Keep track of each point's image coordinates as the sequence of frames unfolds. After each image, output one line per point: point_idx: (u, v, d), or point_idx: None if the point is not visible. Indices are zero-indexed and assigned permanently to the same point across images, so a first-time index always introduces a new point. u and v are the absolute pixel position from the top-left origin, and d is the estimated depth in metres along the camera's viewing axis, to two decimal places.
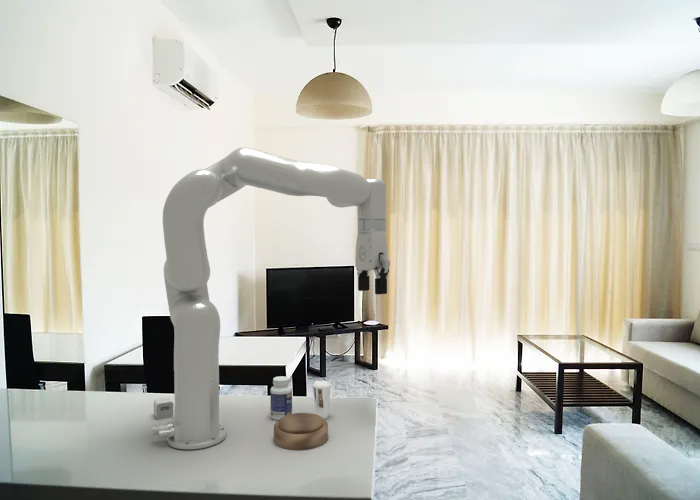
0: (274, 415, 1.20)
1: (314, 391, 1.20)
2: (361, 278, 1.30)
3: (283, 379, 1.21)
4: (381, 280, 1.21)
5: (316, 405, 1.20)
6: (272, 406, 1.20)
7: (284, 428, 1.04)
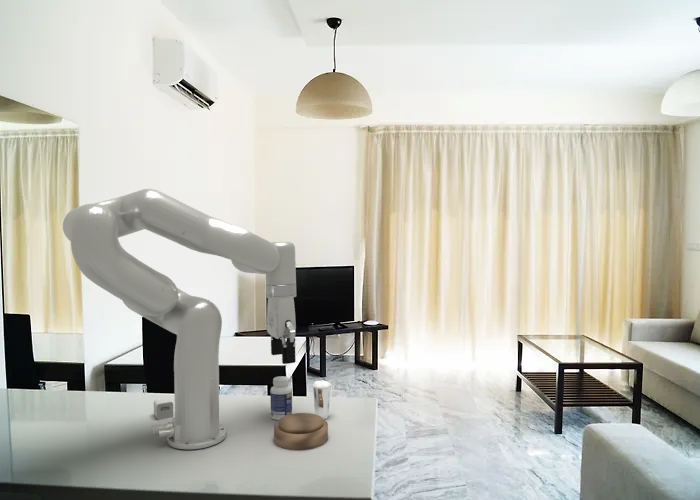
0: (274, 415, 1.20)
1: (314, 391, 1.20)
2: (274, 342, 1.25)
3: (283, 379, 1.21)
4: (288, 349, 1.16)
5: (316, 405, 1.20)
6: (272, 406, 1.20)
7: (284, 428, 1.04)
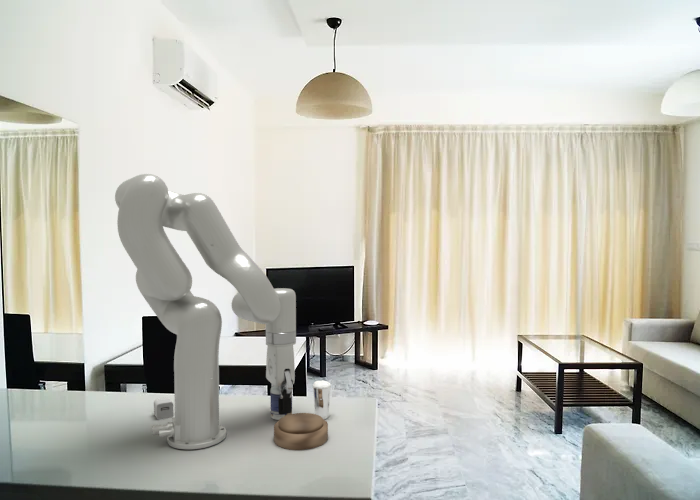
0: (274, 415, 1.20)
1: (314, 391, 1.20)
2: None
3: None
4: (284, 400, 1.18)
5: (316, 405, 1.20)
6: (272, 406, 1.20)
7: (284, 428, 1.04)
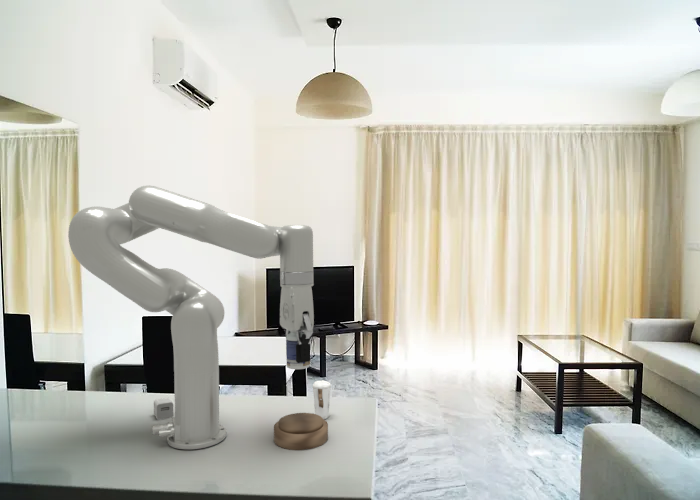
0: (291, 364, 1.08)
1: (314, 391, 1.20)
2: None
3: None
4: (303, 347, 1.06)
5: (316, 405, 1.20)
6: (289, 354, 1.08)
7: (284, 428, 1.04)
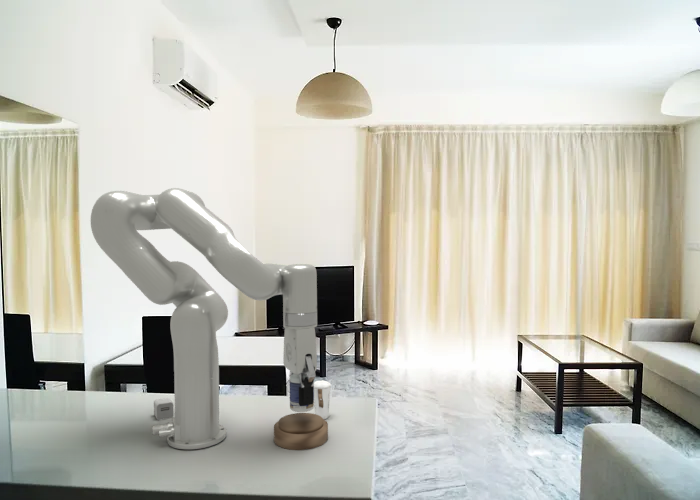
0: (294, 407, 1.06)
1: (314, 391, 1.20)
2: None
3: None
4: (305, 390, 1.04)
5: (316, 405, 1.20)
6: (292, 396, 1.06)
7: (284, 428, 1.04)
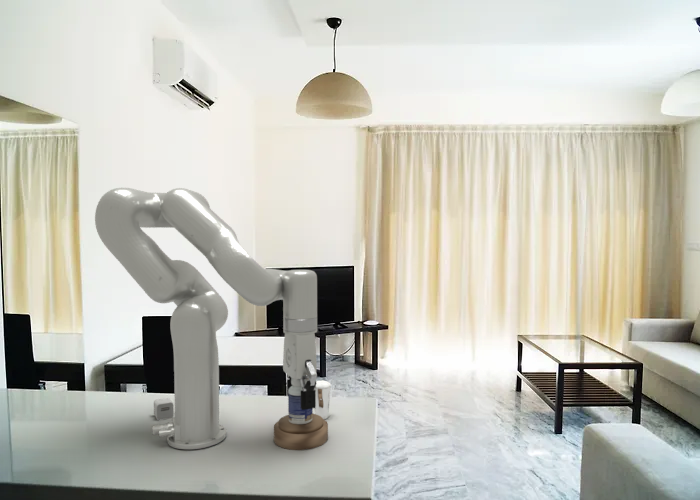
0: (292, 419, 1.06)
1: None
2: (290, 382, 1.12)
3: None
4: (307, 393, 1.03)
5: (316, 405, 1.20)
6: (290, 409, 1.06)
7: (284, 428, 1.04)
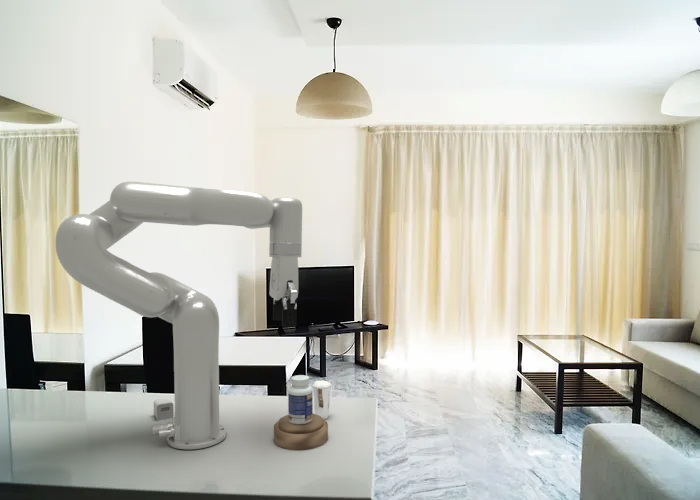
0: (292, 419, 1.06)
1: (314, 391, 1.20)
2: (276, 306, 1.18)
3: (303, 378, 1.07)
4: (288, 311, 1.08)
5: (316, 405, 1.20)
6: (290, 409, 1.06)
7: (284, 428, 1.04)
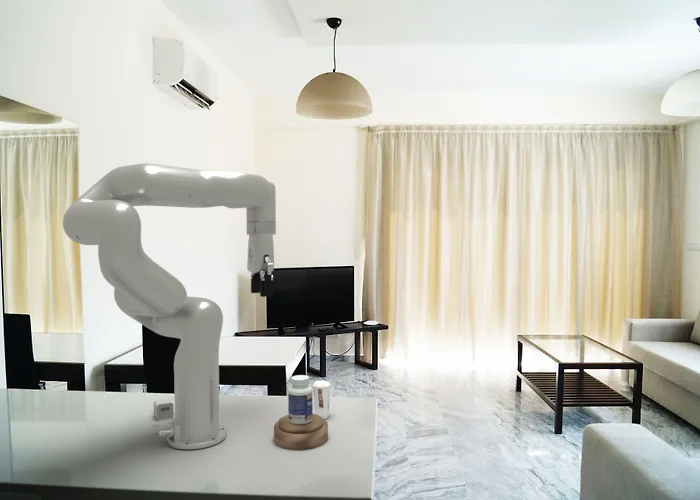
0: (292, 419, 1.06)
1: (314, 391, 1.20)
2: (254, 280, 1.30)
3: (303, 378, 1.07)
4: (266, 282, 1.21)
5: (316, 405, 1.20)
6: (290, 409, 1.06)
7: (284, 428, 1.04)
